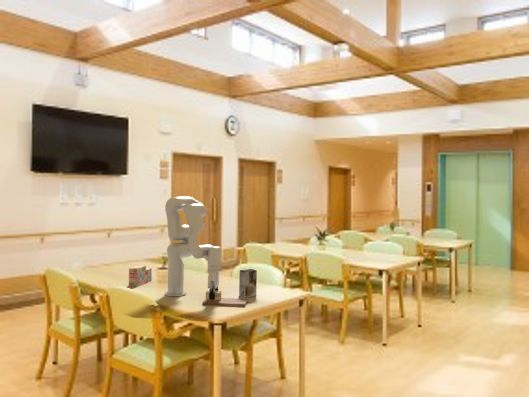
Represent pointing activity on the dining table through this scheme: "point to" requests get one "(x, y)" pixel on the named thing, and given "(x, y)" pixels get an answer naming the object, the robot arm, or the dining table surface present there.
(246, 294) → the coffee box
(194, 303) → the dining table surface
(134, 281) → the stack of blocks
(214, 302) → the board
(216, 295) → the block
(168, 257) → the robot arm
